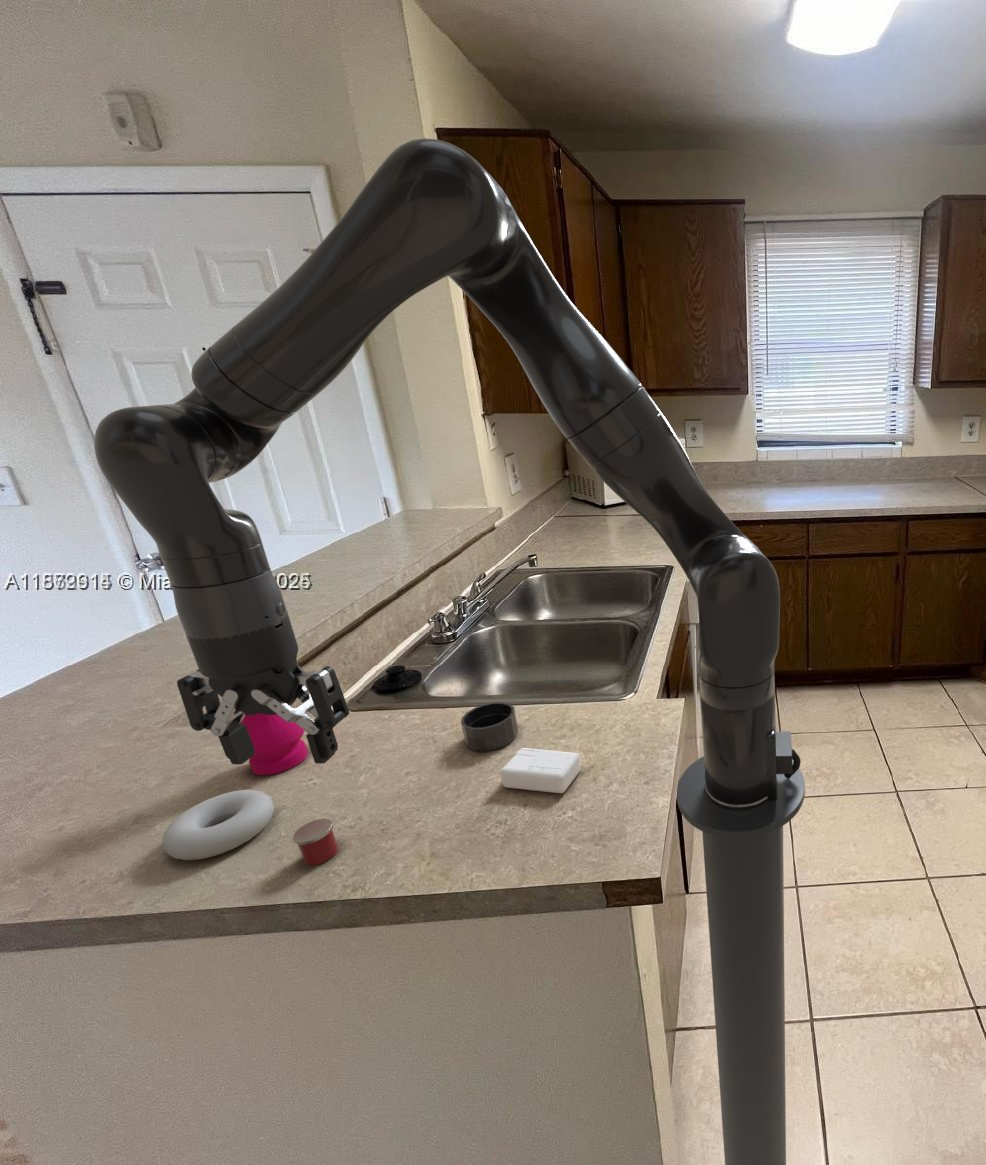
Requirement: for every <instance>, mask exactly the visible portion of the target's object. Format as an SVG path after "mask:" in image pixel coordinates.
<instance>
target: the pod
mask: <svg viewBox="0 0 986 1165" xmlns="http://www.w3.org/2000/svg"><path fill="white" fill-rule="evenodd" d="M333 828H334V823H333V821H332V820H331V819H329V818H319V819H314V820H312V821H309V822H307V823H305V824H303V825H302V826H300V827H299V828H298V829H297V830H295V832H294V833H293V836H292V840H293V842H294V843H295V844H296V845H297V846H298V849H299V851H300V854H301V858H302V860H303V863H304V864H305V865H307V866H317V865H321V864H323V863H325V862H328V861H329V860H331V859H332V858H333V857H334V856H336V854H337V853H338V852H339V846H338V842H337V839H336V836H335V834H334V830H333Z"/></svg>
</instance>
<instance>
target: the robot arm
mask: <svg viewBox="0 0 986 1165" xmlns="http://www.w3.org/2000/svg"><path fill="white" fill-rule="evenodd" d="M446 277H448V278H450V279H451V280H452V282H454V283H455V285H457V286H458V287H459V288H460V289H461V290H462V292H463V293H464V294H465V295H466V296H467V297H468V298H469V299H470V300H471V301H472V302H473V303H474V304H475V305H476V307H477V308H478V309H479V310H480V311H481V312H482V313H483V314H484V316H485V317H486V318H487V319H488V320H489V321H490V322H491V324H493V326H494V327H495V328H496V329H497V331H498V332H499V333H500V334H501V335H502V337H503V338H504V339H505V341H506V342H507V344H508V345H509V346H510V348H511V349H512V351H513V353H514V354H515V356H516V357H517V359H518V361H519V363H520V365H521V366H522V368H523V371H524V372H525V374H526V376H527V378H528V380H529V381H530V384H531V385H532V387H533V389H534V390H535V393H536V394H537V395H538V397H539V399H540V401H541V403H542V405H543V406H544V408H545V409H546V411H547V412H548V414H549V416H550V418H551V419H552V420H553V422H554V424H555V425H556V426H557V428H558V429H559V431H560V432H561V434H563V436H564V437H565V438H566V439H567V441H568V442H569V443H570V444H571V446H572V447H573V448H574V450H576V451H575V452H577V453H578V455H579V456H580V457H581V458H582V459H583V460H584V461H585V463H586V464H587V466H588V467H589V468H590V469H591V470H592V471H593V472H594V474H596V475H597V477H599V478H600V480H601V481H602V482H603V483H604V484H605V485H606V487H608V488H609V489H610V490H611V491H612V492H613V493H614V494H615V495H617V496H618V497H619V498H620V499H621V500H622V501H623V502H624V503H625V504H627V505H628V506H629V507H630V508H631V509H633V510H634V511H635V512H636V513H637V514H638V515H640V516H641V518H643V519H644V520H645V521H646V522H647V523H648V524H649V525H650V526H651V527H652V528H653V529H654V530H655V532H657V534H658V535H659V536H660V538H661V539H662V540H663V542H664V543H665V545H666V546H667V547H668V549H669V550H670V552H671V553H672V555H673V556H674V558H675V560H676V561H677V563H678V565H679V566H680V568H681V569H682V571H683V572H684V574H685V575H686V577H687V579H688V581H689V584H690V587H691V588H692V590H693V592H694V595H695V597H696V600H697V611H698V628H699V629H698V630H699V648H698V651H697V670H698V686H699V703H700V717H701V718H700V719H701V731H702V732H701V733H702V734H701V735H702V747H703V748H702V749H703V750H702V752H703V756H704V765H705V791H706V794H707V796H708V797H709V799H710V800H711V801H712V802H714V803H715V804H717V805H719V806H721V807H724V808H727V809H734V810H744V809H750V808H754V807H757V806H759V805H762V804H763V803H765V802H767V801H770V800H776V799H777V776H776V774H784V776H785V777H786V778H788V779H789V778H790V777H791V776H792V775H793V774H794V773H796V772H797V770H798V769H799V770H800V768H801V763H802V762H801V757H800V756H799V754H798V753H797V752H796V750H795V749H793V747H792V732H791V730H790V731H789V730H788V731H787V730H786V731H785V730H784V731H777V730H776V729H777V728H776V727H777V726H776V725H777V724H776V683H775V682H776V680H775V679H776V678H775V676H776V675H775V674H776V673H775V668H776V666H775V665H776V657H777V655H778V653H779V648H780V630H781V628H780V626H781V590H780V589H781V588H780V580H779V577H778V573H777V571H776V568H775V567H774V565H773V564H772V562H771V561H770V560H769V559H768V557H767V556H765V554H764V553H763V552H762V551H761V550H760V549H759V547H758V546H757V545H756V544H755V543H754V542H752V541H751V540H750V539H749V538H748V537H747V536H746V535H745V534H744V533H743V532H742V531H741V530H740V529H739V528H738V527H737V526H736V524H734V522H733V521H732V520H731V519H730V518H729V516H728V515H727V514H726V513H725V512H724V511H723V510H722V508H720V506H719V505H718V504H717V503H716V501H715V500H714V499H713V498H712V497H711V495H710V494H709V493H708V491H707V490H706V488H705V487H704V485H703V483H702V481H701V480H700V478H699V476H698V474H697V472H696V470H695V467H694V466H693V464H692V462H691V460H690V458H689V456H688V454H687V452H686V450H685V448H684V446H683V444H682V443H681V440H679V438H678V436H677V434H676V433H675V431H674V430H673V428H672V426H671V424H670V423H669V421H668V420H667V418H666V416H665V415H664V414H663V412H662V411H661V409H660V408H659V406H658V405H657V403H655V401H654V400H653V398H652V397H651V396H650V394H649V393H648V391H647V390H646V388H645V387H644V386H643V385H642V383H641V382H640V380H639V379H638V378H637V377H636V375H635V374H634V372H633V371H632V370H631V369H630V368H629V367H628V365H627V364H626V363H625V362H624V360H623V359H622V357H621V356H620V355H619V354H618V353H617V351H615V350H614V348H613V347H612V346H611V345H610V344H609V342H608V341H607V340H606V339H605V338H604V337H603V336H602V334H601V333H600V332H599V330H597V329H596V327H594V325H593V324H591V322H590V321H589V320H588V319H587V318H586V316H584V314H583V313H582V312H581V311H580V310H579V309H578V307H576V305H575V304H574V303H573V302H572V300H571V299H570V298H569V296H568V295H567V294H566V292H565V291H564V289H563V288H562V287H561V285H560V284H559V282H558V280H557V279H556V278H555V276H554V274H553V273H552V272H551V270H550V268H549V267H548V265H547V263H546V261H545V260H544V258H543V257H542V255H541V253H540V252H539V250H538V249H537V247H536V246H535V244H534V242H533V240H532V238H531V237H530V235H529V233H528V232H527V230H526V228H525V227H524V225H523V223H522V221H521V220H520V218H519V216H518V214H517V212H516V210H515V209H514V207H513V205H512V202H511V201H510V200H509V198H508V195H507V194H506V193H505V191H504V189H503V188H502V186H500V185H499V183H498V182H497V180H495V179H494V178H493V176H492V175H491V174H490V173H489V172H488V171H487V169H485V168H484V166H482V164H480V162H479V161H478V160H476V159H475V158H474V157H473V156H472V155H470V154H469V153H468V152H467V151H465V150H464V149H462V148H460V147H458V146H456V145H454V144H452V143H451V142H447V141H444V140H440V139H435V138H426V137H425V138H418V139H412V140H411V139H410V140H409V141H407V142H405V143H402V144H400V145H399V146H397V147H396V148H394V150H393V151H392V152H391V153H389V155H388V156H387V157H386V158H385V159H384V160H383V162H382V163H381V164H380V165H379V167H378V168H377V169H376V170H375V172H374V173H373V174H372V176H371V177H370V179H369V180H368V181H367V183H366V184H365V185H364V186H363V188H362V189H361V191H360V192H359V193H358V195H357V197H356V198H354V200H353V202H352V204H351V205H350V207H349V208H348V209H347V210H346V212H345V213H344V214H343V216H342V217H341V218H340V219H339V221H338V222H337V223H336V224H335V225H334V227H333V228H332V229H331V231H330V232H329V233H328V234H327V235H326V236H325V238H324V239H323V240H322V241H321V242H320V243H319V245H318V246H317V247H316V248H315V249H314V250H313V251H312V252H311V254H310V255H309V256H308V257H307V258H306V259H305V261H304V262H303V263H302V264H300V266H299V267H298V268H297V269H296V270H295V271H294V272H293V273H292V274H291V275H290V276H289V277H288V278H286V280H285V281H284V282H282V284H281V285H280V286H279V287H278V288H276V289H275V290H274V292H272V293H271V294H270V295H269V296H268V297H267V298H266V299H264V300H263V301H262V302H260V304H259V305H257V306H256V307H255V308H253V310H252V311H250V312H249V313H248V314H247V315H246V316H245V317H243V318H242V319H241V320H240V321H239V322H237V323H236V324H235V325H233V326H232V327H231V328H230V329H229V330H227V332H225V333H224V334H223V335H222V336H220V338H219V339H217V340H216V341H215V342H214V343H213V344H211V345H210V346H209V347H208V348H207V349H206V350H205V351H203V353H202V354H201V355H200V356H199V357H198V358H197V359H196V361H195V362H194V363H193V365H192V368H191V373H190V374H191V375H190V376H191V381H192V384H193V386H194V388H193V389H192V390H191V392H189V393H188V394H186V395H185V396H184V397H183V398H181V399H179V400H178V401H176V402H174V403H167V404H154V405H139V406H137V405H136V406H129V407H124V408H119V409H117V410H114V411H111V412H110V413H108V414H107V415H106V416H105V417H103V418H102V419H101V420H100V422H98V424H97V428H96V429H95V435H94V441H93V447H94V448H93V449H94V454H95V458H96V461H97V465H98V467H99V469H100V471H101V473H102V475H103V477H104V478H105V479H106V481H107V482H108V484H109V485H110V486H111V488H112V489H113V490H114V492H115V493H116V494H117V496H118V497H119V498H120V499H121V500H122V503H123V504H124V505H125V507H126V508H127V509H128V510H129V511H130V513H131V514H132V515H133V517H134V518H135V519H136V521H137V522H138V523H139V524H140V525H141V527H142V528H143V529H144V530H145V531H146V532H147V533H148V535H149V536H150V537H151V538H152V540H153V541H154V542H155V545H156V548H157V551H158V554H159V557H160V560H161V563H162V565H163V568H164V570H165V573H166V575H167V578H168V581H169V584H170V586H171V589H172V594H173V599H174V606H175V609H176V613H177V616H178V618H179V620H180V623H181V625H182V629H183V631H184V633H185V636H186V639H187V642H188V644H189V647H190V649H191V652H192V655H193V658H194V661H195V663H196V665H197V668H198V669H196V670H194V671H192V672H191V673H189V674H187V675H185V676H183V677H181V678H180V679H178V680H177V681H176V685H177V688H178V691H179V694H180V698H181V700H182V705H183V706H184V709H185V710H184V711H185V712H186V713H185V714H186V716H187V719H188V722H189V725H190V727H191V729H192V730H194V731H195V732H196V731H197V732H201V731H203V730H208V731H210V732H211V733H212V735H213V736H215V737H218V739H219V742H220V745H221V747H222V750H223V752H224V755H225V757H226V758H227V760H229V762H230V763H231V765H243V764H245V763H246V762H247V761H249V759H250V758H251V757H252V756H253V755H254V754H255V749H254V746H253V743H252V740H251V738H250V735H249V732H248V729H247V727H246V724H240V723H241V722H242V721H243V719H244V717H245V715H255V714H259V713H262V714H267V715H277V714H278V715H279V716H280V717H281V718H283V719H284V720H285V721H287V722H295V723H296V724H297V725H299V726H300V727H301V728H302V729H304V732H306V733H307V734H306V735H305V737H306V740H307V743H308V746H309V749H310V752H311V755H312V758H313V762H314V763H315V764H326V763H327V762H328V761H330V759H331V758H332V757H333V756H334V755H335V754H336V752H337V751H338V747H339V745H338V742H337V738H336V735H335V731H334V728H335V727H336V726H337V725H338V724H339V723H340V722H342V721H343V720H344V719H346V718H347V717H348V716H349V715H350V708H349V706H348V704H347V701H346V698H345V695H344V693H343V690H342V687H341V685H340V681H339V679H338V676H337V674H336V670H335V669H334V668H333V667H332V666H329V665H326V666H323V667H322V668H321V669H319V670H313V671H304V669H302V667H301V666H300V665H299V663H298V660H297V658H298V652H299V646H298V642H297V638H296V635H295V632H294V628H293V626H292V623H291V619H290V616H289V613H288V610H287V605H286V604H285V600H284V597H283V593H282V591H281V588H280V585H279V583H278V581H277V579H276V578H275V576H274V574H273V572H272V569H271V566H270V563H269V560H268V557H267V553H266V551H265V547H264V544H263V541H262V538H261V534H260V532H259V529H258V526H257V525H256V523H255V521H254V520H253V518H252V517H251V516H250V514H249V515H248V514H247V513H245V512H243V511H241V510H236V509H229V508H224V506H223V505H222V503H221V502H220V500H219V499H218V498H217V495H216V494H215V493H214V491H213V489H212V486H211V485H210V484H211V483H215V482H219V481H223V480H226V479H228V478H230V477H232V476H234V475H236V474H238V473H239V472H240V471H242V470H243V469H245V468H246V467H247V466H249V465H250V464H251V463H252V462H253V461H254V460H255V459H256V458H257V457H259V455H260V454H261V453H262V452H263V451H264V449H265V448H266V446H268V444H269V443H270V441H272V439H273V437H274V436H275V435H276V434H277V432H278V430H279V429H280V427H281V426H282V424H283V423H284V422H285V421H287V420H288V419H290V418H292V416H294V415H295V414H297V413H298V412H299V411H300V410H301V409H303V408H304V406H306V405H307V404H308V403H310V402H311V401H312V400H313V399H314V398H315V397H317V396H318V395H319V394H320V393H321V392H322V391H323V390H325V389H326V388H327V387H329V385H331V384H332V382H334V381H335V380H336V378H338V377H339V376H340V375H341V374H342V372H344V370H345V369H347V367H348V366H349V364H350V363H351V362H352V360H353V359H355V357H356V355H357V354H358V353H359V351H360V349H361V348H362V347H363V345H364V344H365V343H366V341H367V339H369V337H370V335H371V334H372V333H373V332H374V331H375V330H376V328H378V326H379V325H380V324H381V323H382V322H384V320H385V319H386V318H388V316H389V315H391V314H392V313H393V312H394V311H395V310H396V309H397V308H398V307H400V306H401V305H402V304H403V303H405V302H406V301H408V300H409V299H410V298H412V297H413V296H415V295H416V294H419V292H421V291H423V290H425V289H426V288H428V287H430V286H431V285H434V284H435V283H437V282H439V281H440V280H442V279H444V278H446ZM219 696H220V697H221V701H220V697H219ZM297 699H298V700H299V701H300V702H301V705H299V706H298V707H292V705H293V704H295V703H296V701H297ZM204 708H205V710H206V712H205V713H204V710H203V709H204ZM306 712H307V713H309V714H310V715H312V716H313V717H314V719H313V718H311V716H309V715H308V714H307V713H306ZM792 762H793V765H792Z"/></svg>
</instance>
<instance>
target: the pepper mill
mask: <svg viewBox="0 0 986 1165" xmlns="http://www.w3.org/2000/svg"><path fill="white" fill-rule="evenodd" d="M240 724H246V727H247V729H248V732H249V735H250V738H251V740H252V743H253V746H254V749H255V754H254V755H253V756H252V757H251V758H250V759H248V763H249V766H250V769H251V771H252V773H253V774H254V775H256V776H257V775H258V776H271V775H277V774H279V773H283V772H285V771H288V770H290V769H293V768H294V767H296V766H297V765H299V764H301V763H302V762H303V761H304V760H306V758H307V757H308V755H309V751H308V748H307V745H306V742H305V741H304V740H303V739H302V738H303V737H304V734H305V730H304V729H302V728H301V727H300V726H299V725H297V724H296V723H295V722H287V721H285V720H284V719H283V718H281V717H280V716H279V715H278V714H277V715H267V714H262V713H259V714H255V715H245V717H244V719H243V721H242V722H241V723H240Z"/></svg>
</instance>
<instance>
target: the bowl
mask: <svg viewBox="0 0 986 1165" xmlns="http://www.w3.org/2000/svg"><path fill="white" fill-rule="evenodd" d="M460 720H461V721H460V725H461V730H462V734H463V738H464V743H465V745H466V746H467V747H468V748H469V749H470V750H471V751H473V752H477V753H479V752H480V753H484V752H485V753H486V752H492V751H496V750H499V749H501V748H504V747H506V746H508V745H509V744H511V743H512V742H513V741H514V740H515V739H516V738H517V736H518V733H519V726H518V724H519V723H518V720H517V715H516V709H515V707H514V706H513V705H512V704H511V703H508V702H503V701H500V702H499V701H497V702H496V701H495V702H489V703H484V704H482V705H481V704H480V705H478V706H476V707H474V708H471V710H469V711H467V712H466V713H465V714H464V715H463V716H462V717H461V719H460Z"/></svg>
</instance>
